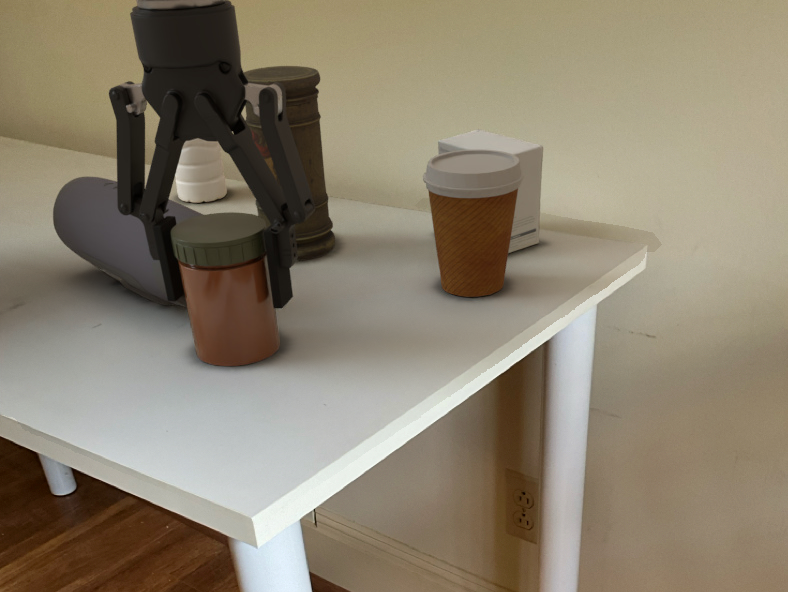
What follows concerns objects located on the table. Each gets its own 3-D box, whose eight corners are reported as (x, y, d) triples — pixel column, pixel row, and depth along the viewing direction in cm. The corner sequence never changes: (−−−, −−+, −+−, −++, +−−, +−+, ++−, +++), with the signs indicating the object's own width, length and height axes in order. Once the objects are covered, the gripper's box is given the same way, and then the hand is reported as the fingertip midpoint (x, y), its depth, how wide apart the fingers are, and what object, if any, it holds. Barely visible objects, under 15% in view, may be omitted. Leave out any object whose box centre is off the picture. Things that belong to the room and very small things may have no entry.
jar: (181, 362, 78) (157, 249, 72) (217, 327, 84) (198, 219, 78) (261, 369, 76) (243, 253, 70) (292, 333, 82) (278, 223, 76)
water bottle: (178, 205, 116) (136, -20, 101) (178, 191, 121) (138, -24, 106) (245, 199, 117) (213, -24, 102) (242, 185, 122) (211, -29, 107)
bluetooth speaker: (252, 305, 88) (237, 202, 82) (171, 334, 83) (148, 227, 77) (138, 253, 101) (118, 161, 95) (62, 276, 97) (36, 180, 91)
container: (310, 229, 106) (293, 61, 95) (351, 248, 100) (338, 71, 89) (243, 247, 102) (217, 73, 91) (282, 267, 96) (259, 84, 85)
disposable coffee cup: (495, 310, 85) (498, 179, 77) (408, 294, 88) (404, 169, 81) (534, 276, 91) (540, 153, 84) (451, 263, 95) (450, 144, 88)
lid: (246, 269, 71) (243, 245, 70) (157, 263, 73) (152, 240, 72) (283, 236, 77) (281, 214, 76) (200, 231, 79) (196, 210, 78)
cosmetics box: (437, 234, 103) (435, 138, 96) (479, 222, 106) (480, 127, 99) (497, 257, 96) (500, 155, 89) (541, 243, 99) (546, 143, 92)
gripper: (18, 9, 63) (96, 307, 77) (306, 5, 58) (335, 325, 72) (75, -4, 69) (138, 276, 83) (341, -9, 64) (362, 290, 78)
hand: (230, 298), depth 77 cm, fingers open, 9 cm apart
